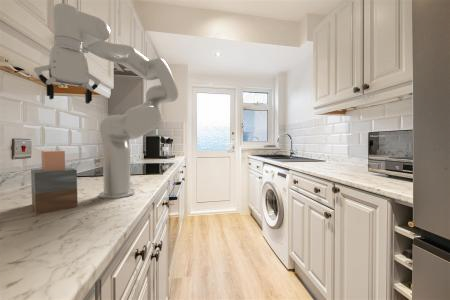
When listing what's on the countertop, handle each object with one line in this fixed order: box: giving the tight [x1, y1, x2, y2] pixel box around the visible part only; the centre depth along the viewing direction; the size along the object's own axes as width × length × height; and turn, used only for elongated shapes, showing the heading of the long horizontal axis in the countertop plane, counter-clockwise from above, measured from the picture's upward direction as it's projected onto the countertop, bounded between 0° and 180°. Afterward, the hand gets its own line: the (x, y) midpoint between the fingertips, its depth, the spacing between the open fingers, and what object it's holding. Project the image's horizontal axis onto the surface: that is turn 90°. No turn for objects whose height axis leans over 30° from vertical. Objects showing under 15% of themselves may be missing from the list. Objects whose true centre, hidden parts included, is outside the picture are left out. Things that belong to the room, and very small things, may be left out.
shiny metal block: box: [30, 165, 79, 215], centre depth 68 cm, size 14×10×12 cm
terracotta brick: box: [41, 150, 66, 171], centre depth 68 cm, size 8×5×6 cm, turn 46°
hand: (70, 101), depth 68 cm, fingers open, 9 cm apart
